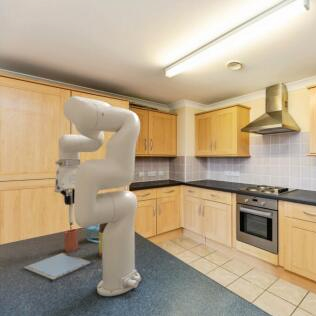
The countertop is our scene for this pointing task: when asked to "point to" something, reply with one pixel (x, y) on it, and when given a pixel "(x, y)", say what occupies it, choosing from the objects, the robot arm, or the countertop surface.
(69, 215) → the stylus
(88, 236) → the chair
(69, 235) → the pen pot
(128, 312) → the countertop surface
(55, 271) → the plate
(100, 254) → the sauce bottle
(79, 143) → the robot arm
